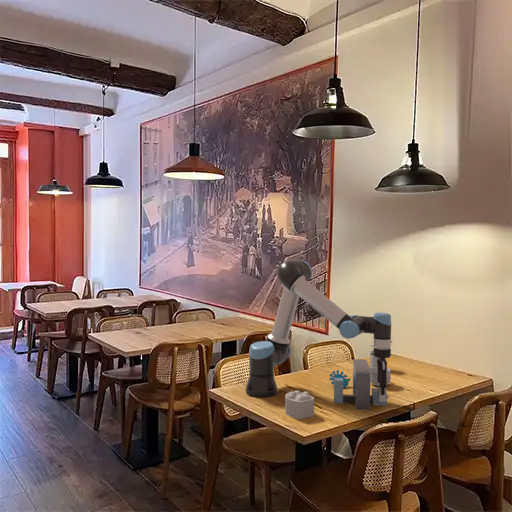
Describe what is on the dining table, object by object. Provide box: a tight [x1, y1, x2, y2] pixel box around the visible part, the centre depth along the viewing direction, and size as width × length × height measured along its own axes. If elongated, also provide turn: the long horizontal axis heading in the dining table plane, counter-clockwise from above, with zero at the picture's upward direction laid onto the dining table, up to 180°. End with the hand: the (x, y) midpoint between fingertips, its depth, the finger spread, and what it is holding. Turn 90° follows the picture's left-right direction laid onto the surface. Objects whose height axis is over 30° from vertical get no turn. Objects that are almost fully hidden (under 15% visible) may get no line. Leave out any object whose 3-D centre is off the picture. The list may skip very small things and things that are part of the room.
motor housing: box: [352, 358, 371, 411], centre depth 222 cm, size 6×20×17 cm, turn 172°
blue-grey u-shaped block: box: [333, 378, 390, 406], centre depth 222 cm, size 24×5×10 cm, turn 82°
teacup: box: [370, 367, 392, 387], centre depth 250 cm, size 14×11×8 cm
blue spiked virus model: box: [329, 370, 352, 389], centre depth 246 cm, size 11×6×10 cm
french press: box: [369, 342, 378, 368], centre depth 279 cm, size 10×12×25 cm
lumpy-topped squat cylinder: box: [284, 390, 315, 420], centre depth 208 cm, size 10×13×9 cm
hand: (381, 399), depth 221 cm, fingers closed on blue-grey u-shaped block, 5 cm apart
